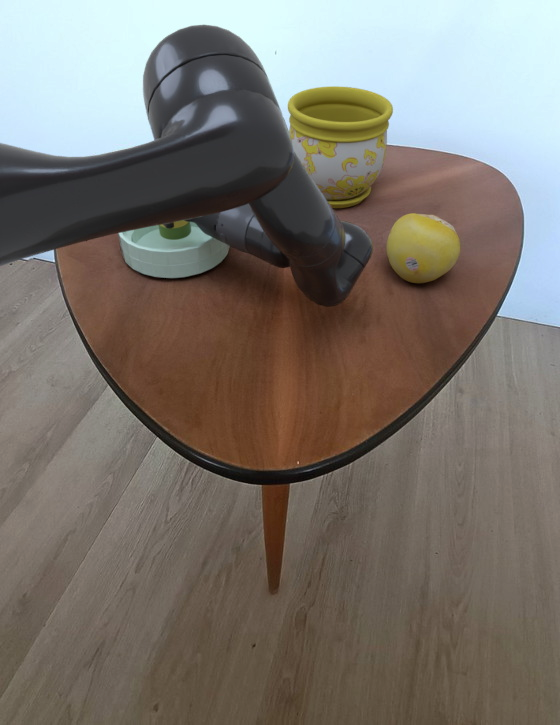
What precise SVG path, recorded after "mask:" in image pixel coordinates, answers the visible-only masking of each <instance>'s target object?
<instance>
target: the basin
mask: <svg viewBox="0 0 560 725" xmlns="http://www.w3.org/2000/svg"><path fill="white" fill-rule="evenodd" d="M190 224H191V233H190V234H189V235H188V236H187V237H185V238H182V239H178V240H169V239H165V238H163V237H162V236H161V235H160V232H159V226H158V225H156V226H151V227H146V228H141V229H136V230H131V231H126V232H121V233H117V237H118V241H119V246H120V250H121V255H122V258H123V260H124V262H125V264H126V265H128V266H129V267H130V268H131V269H133V270H134V271H136V272H138V273H140V274H142V275H146V276H150V277H154V278H164V279H165V278H166V279H179V278H186V277H187V278H188V277H191V276H195V275H199V274H202V273H205V272H207V271H209V270H211V269H213V268H215V267H216V266H218V265H219V264H221V263H222V262H223V260H224V259H225V258H226V257H227V255H228V253H229V251H230V247H231V246H229V245H227V244H225V243H223V242H221V241H219V240H217V239H215V238H213V237H211V236H209V235H207V234H205V233H204V232H202V231H201V229H200V228H199V227H198V226H197V225H196V224H195V223H193V222H190Z"/></svg>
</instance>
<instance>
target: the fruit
mask: <svg viewBox="0 0 560 725" xmlns="http://www.w3.org/2000/svg"><path fill="white" fill-rule="evenodd" d="M460 253H461V242H460V238H459V236H458V234H457V232H456V229H455V227H454V226H453V225H452V224H451V223H449V222H447V221H446V220H445V219H442V218H440V217H439V216H437V215H434V214H424V213H415V212H413V213H411V212H410V213H407V214H405V215H402V216H401V217H399V218H398V219H397V220H396V221H395V222H394V224H393V225H392V227H391V229H390V231H389V234H388V237H387V241H386V255H387V258H388V261H389V264H390V266H391V269H393V271H394V272H395V273H396V274H397V275H398V276H399V277H400V278H401V279H402V280H404V281H407V282H409V283H412V284H425V283H430V282H432V281H435V280H437V279H439V278H441V277H442V276H444V275H445V274H446V273H448V272H450V270H451V269H452V268H453V267H454V266H455V264H456V263H457V261H458V259H459V256H460Z"/></svg>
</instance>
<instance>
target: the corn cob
mask: <svg viewBox="0 0 560 725" xmlns="http://www.w3.org/2000/svg"><path fill="white" fill-rule="evenodd" d="M158 226H159V232H160V235H161V236H162V237H163V238H165V239H169V240H178V239H182V238H185V237H187V236H188V235H189V234H190V233H191V224H190V222H187V221H184V220H182V221H177V222H174V227H173V228H171V229H168V228H166V227H165V226H164V225H163V224H161V225H158Z"/></svg>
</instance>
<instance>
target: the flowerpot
mask: <svg viewBox="0 0 560 725" xmlns="http://www.w3.org/2000/svg"><path fill="white" fill-rule="evenodd" d="M287 111H288V113H289V118H288V122H289V129H288V131H289V133H290V137H291V140H292V144H293V148H294V151H295V153H296V155H297V156H298V158H299V159H300V161H301V162H302V164H303V166H304V167H305V169H306V170H307V172H308V173H309V175H310V176H311V178H312V179H313V181H314V182H315V183H316V185H317V186H318V188H319V189H320V191H321V192H322V194H323V195H324V197H325V198H326V199H327V201H328V202H329V204H330V205H331V207H332V208H333V209H346V208H351V207H353V206H355V205H358V204H360V203H361V202H362V201H364V199H366V198H367V197H368V196H369V195H370V194H371V192H372V185H373V184H374V183H375V181H376V180H377V179H378V177H379V176H380V173H381V172H382V169H383V167H384V163H385V160H386V154H387V147H388V129H389V126H390V122H389V120H390V119H391V118H392V116H393V113H394V107H393V105H392V102H391V101H390V100H389V99H388V98H386V97H385V96H383V95H381V94H379V93H376V92H373V91H371V90H368V89H364V88H363V89H362V88H358V87H351V86H350V87H349V86H338V85H337V86H319V87H312V88H308V89H305V90H301V91H299V92H297V93H294V95H292V96H291V97H290V98H289V100H288V102H287Z"/></svg>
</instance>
